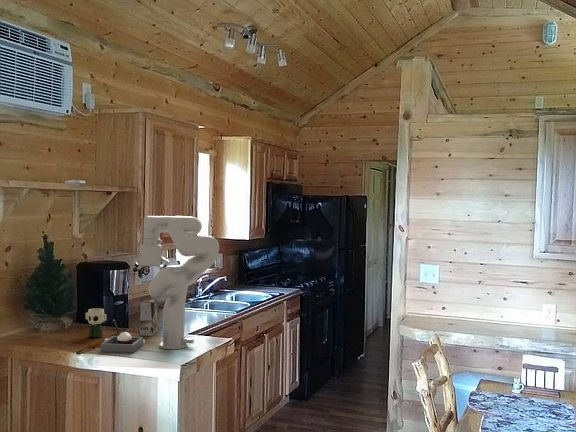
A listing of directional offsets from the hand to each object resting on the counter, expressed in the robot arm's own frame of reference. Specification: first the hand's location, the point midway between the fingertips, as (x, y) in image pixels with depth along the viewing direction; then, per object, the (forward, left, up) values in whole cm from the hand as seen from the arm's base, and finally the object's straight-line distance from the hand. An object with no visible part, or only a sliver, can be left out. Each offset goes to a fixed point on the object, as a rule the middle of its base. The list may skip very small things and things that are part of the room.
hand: (150, 278), depth 291 cm
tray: (+6, +22, -28) cm, 36 cm away
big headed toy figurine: (+25, +3, -28) cm, 38 cm away
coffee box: (+3, -8, -28) cm, 30 cm away
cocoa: (+5, +22, -28) cm, 36 cm away
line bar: (+8, +13, -28) cm, 32 cm away
